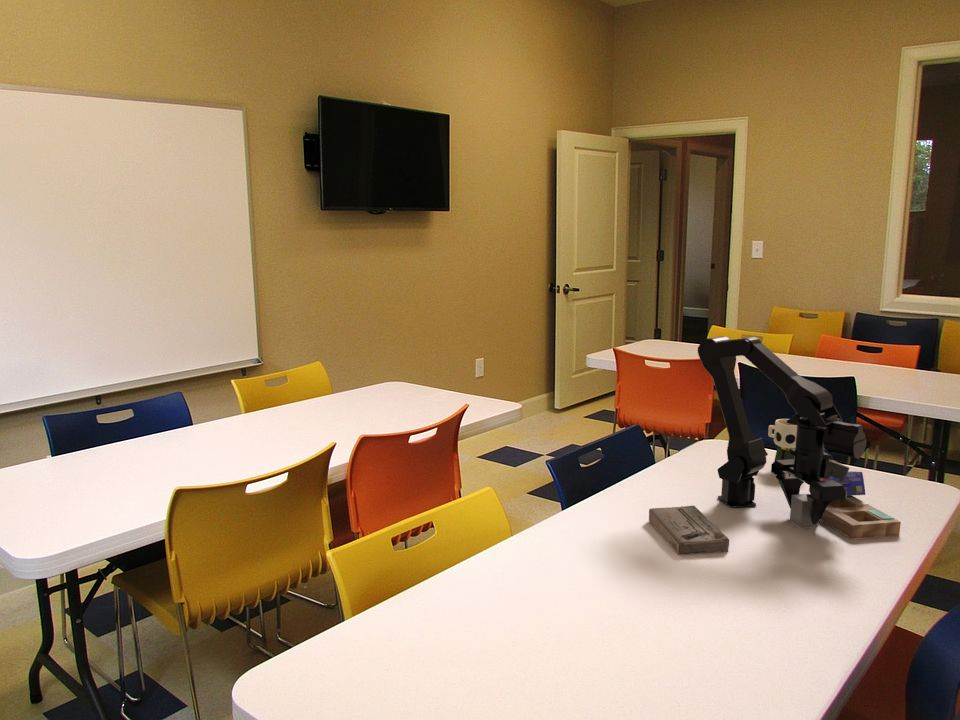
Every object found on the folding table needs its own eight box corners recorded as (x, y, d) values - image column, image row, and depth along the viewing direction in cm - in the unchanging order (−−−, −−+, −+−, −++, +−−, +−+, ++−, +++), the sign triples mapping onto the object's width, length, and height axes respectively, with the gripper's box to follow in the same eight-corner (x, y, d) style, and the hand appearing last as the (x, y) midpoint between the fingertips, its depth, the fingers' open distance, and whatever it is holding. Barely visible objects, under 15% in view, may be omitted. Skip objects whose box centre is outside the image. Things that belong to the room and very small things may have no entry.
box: (693, 517, 163) (694, 504, 162) (730, 553, 146) (730, 538, 145) (646, 521, 161) (647, 507, 161) (678, 557, 144) (678, 542, 144)
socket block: (851, 539, 152) (853, 524, 151) (805, 510, 167) (806, 496, 167) (899, 535, 154) (900, 520, 153) (849, 507, 169) (850, 493, 169)
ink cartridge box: (854, 469, 175) (865, 471, 161) (858, 493, 174) (869, 497, 160) (809, 472, 178) (816, 474, 164) (812, 495, 177) (819, 499, 163)
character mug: (760, 468, 197) (763, 420, 195) (771, 462, 202) (774, 415, 200) (801, 477, 189) (805, 428, 187) (812, 471, 194) (816, 423, 192)
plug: (800, 528, 158) (802, 501, 157) (789, 520, 161) (791, 494, 160) (817, 526, 158) (819, 500, 157) (806, 519, 162) (808, 493, 161)
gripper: (873, 458, 149) (866, 531, 152) (817, 433, 167) (811, 499, 170) (823, 461, 147) (817, 535, 150) (772, 435, 165) (767, 502, 168)
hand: (803, 516), depth 160 cm, fingers open, 8 cm apart
